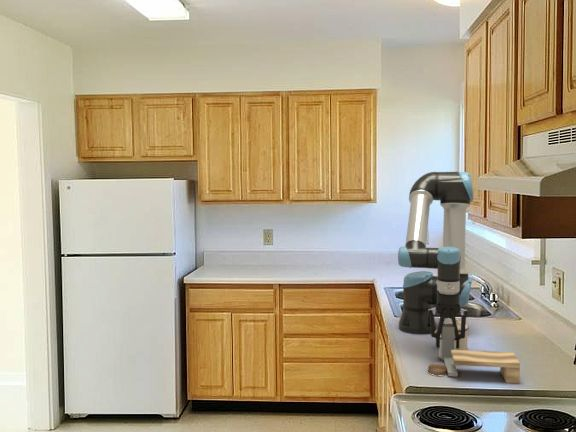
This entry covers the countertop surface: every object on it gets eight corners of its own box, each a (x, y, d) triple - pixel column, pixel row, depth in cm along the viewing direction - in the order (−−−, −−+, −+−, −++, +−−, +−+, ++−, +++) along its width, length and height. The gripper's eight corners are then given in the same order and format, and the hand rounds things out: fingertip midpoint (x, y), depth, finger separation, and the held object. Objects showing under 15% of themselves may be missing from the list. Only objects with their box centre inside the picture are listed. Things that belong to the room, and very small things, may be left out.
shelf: (450, 368, 198) (451, 349, 197) (512, 371, 194) (513, 352, 194) (453, 380, 188) (454, 360, 187) (519, 383, 185) (519, 363, 184)
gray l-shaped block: (440, 356, 208) (441, 323, 206) (452, 356, 207) (453, 323, 206) (446, 376, 190) (447, 340, 189) (459, 376, 190) (459, 340, 188)
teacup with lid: (468, 346, 218) (469, 316, 217) (467, 355, 210) (467, 323, 208) (435, 343, 222) (436, 313, 221) (432, 351, 214) (433, 320, 212)
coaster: (427, 369, 198) (427, 363, 198) (445, 369, 197) (445, 364, 197) (429, 376, 192) (429, 370, 192) (448, 376, 191) (448, 371, 191)
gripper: (423, 294, 200) (423, 359, 203) (475, 295, 198) (474, 361, 201) (422, 288, 208) (421, 351, 211) (472, 289, 205) (470, 353, 208)
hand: (447, 356), depth 206 cm, fingers closed on gray l-shaped block, 4 cm apart
